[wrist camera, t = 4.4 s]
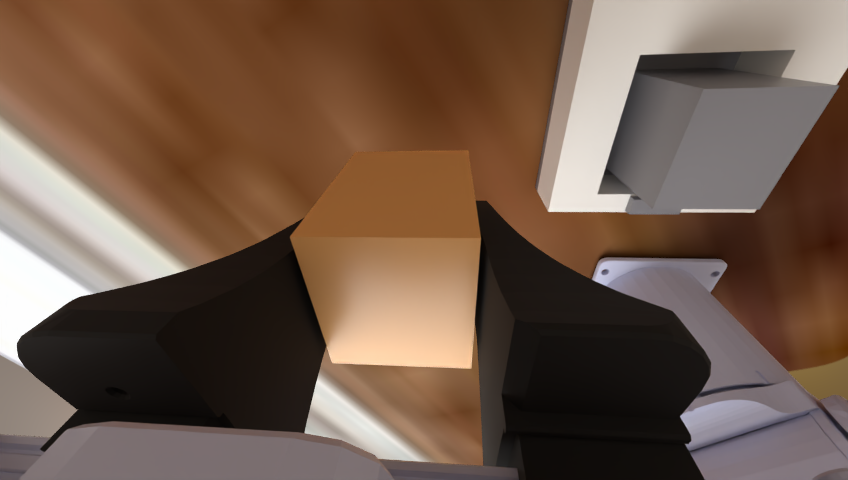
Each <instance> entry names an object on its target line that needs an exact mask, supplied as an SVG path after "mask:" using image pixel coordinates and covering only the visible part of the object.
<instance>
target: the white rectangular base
mask: <svg viewBox="0 0 848 480" xmlns="http://www.w3.org/2000/svg"><path fill="white" fill-rule="evenodd" d="M847 68H848V0H569V4H568V10H567V15H566V21H565V26H564V32H563V37H562V43H561V48H560V54H559V59H558V65H557V71H556V76H555V82H554V87H553V93H552V98H551V104H550V109H549V115H548V120H547V126H546V131H545V137H544V142H543V148H542V153H541V159H540V165H539V170H538V176H537V181H536V187H535V188H536V190H537V192H538V193H539V195H540V197H541V199H542V201H543V203H544V205H545V207H546V208H547V210H548V212H627V213H628V214H680V212H745V213H755V211H756V209H760V208H761V206H762V205H763V203H764V202H765V200H766V199H767V197H768V195H769V194H770V192H771V191H772V189H773V188H774V186H775V185H776V183H777V182H778V180H779V178H780V177H781V175H782V174H783V172H784V171H785V169H786V168H787V166H788V165H789V163H790V161H791V160H792V158H793V157H794V155H795V154H796V152H797V151H798V149H799V148H800V146H801V145H802V143H803V141H804V140H805V138H806V137H807V135H808V134H809V132H810V131H811V129H812V128H813V126H814V124H815V123H816V121H817V120H818V118H819V117H820V115H821V114H822V112H823V111H824V109H825V107H826V106H827V104H828V103H829V101H830V100H831V98H832V97H833V95H834V94H835V92H836V90H837V89H838V87H839V86H838V85H837V83H838V82H839V80H840V78H841V77H842V75H843V74H844V72H845V71H846V69H847Z"/></svg>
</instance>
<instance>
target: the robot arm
mask: <svg viewBox="0 0 848 480" xmlns="http://www.w3.org/2000/svg"><path fill="white" fill-rule="evenodd" d="M476 207H477V214H478V221H479V228H480V235H481V245H480V258H479V271H478V284H477V297H476V310H475V326H476V334H477V346H478V363H479V381H480V400H481V421H482V444H483V466H477V465H461V464H446V463H431V462H416V461H401V460H385V459H378V458H377V457H376V456H375V455H373V454H371V453H369V452H366V451H364V450H362V449H360V448H358V447H355V446H353V445H351V444H349V443H347V442H344V441H342V440H338V439H332V438H327V437H321V436H316V435H310V434H305V433H304V432H305V427H306V422H307V418H308V414H309V410H310V405H311V401H312V397H313V393H314V389H315V385H316V381H317V377H318V373H319V370H320V366H321V362H322V358H323V355H324V352H325V348H326V343H325V340H324V337H323V334H322V331H321V328H320V325H319V322H318V319H317V316H316V313H315V310H314V307H313V304H312V301H311V298H310V295H309V292H308V289H307V286H306V284H305V281H304V278H303V275H302V272H301V269H300V266H299V263H298V260H297V257H296V254H295V251H294V248H293V245H292V242H291V239H290V236H291V235H292V233H293V232H294V231H295V230H296V228H297V227H298V226H299V224H300V223H301V222H302V220H303V219H304V218H303V219H301V220H300V221H298V222H296V223H295V224H293V225H291V226H289V227H287V228H286V229H284V230H282V231H280V232H278V233H276V234H274V235H273V236H271V237H269V238H267V239H265V240H263V241H261V242H259V243H257V244H255V245H252V246H250V247H248V248H246V249H243V250H241V251H239V252H236V253H234V254H231V255H229V256H226V257H223V258H221V259H218V260H215V261H212V262H210V263H207V264H204V265H201V266H199V267H196V268H193V269H189V270H186V271H183V272H180V273H176V274H173V275H170V276H166V277H162V278H159V279H155V280H151V281H148V282H144V283H140V284H136V285H131V286H127V287H122V288H118V289H114V290H109V291H105V292H100V293H96V294H91V295H86V296H81V297H78V298H76V299H74V300H72V301H71V302H69V303H67V304H66V305H64V306H63V307H62V308H60V309H59V310H57V311H56V312H55V313H53V314H52V315H50V316H49V317H48V318H46V319H45V320H43V321H42V322H41V323H39V324H38V325H37V326H35V327H34V328H32V329H31V330H30V331H28V332H27V333H25V334H24V335H23V336H21V338H20V340H19V341H18V343H17V352H18V357H19V359H20V360H21V362H22V363H23V365H24V366H25V368H26V369H28V370H29V371H30V372H31V373H32V374H33V375H34V376H35V377H36V378H38V379H39V380H40V381H41V382H43V383H44V384H45V385H47V386H48V387H49V388H50V389H52V390H53V391H54V392H55V393H57V394H58V395H59V396H60V397H62V398H63V399H64V400H66V401H67V402H69V403H70V404H71V405H72V406H73V407H75V408H76V409H78V410H77V411H76V412H75V413H74V414H73V415H72V416H71V418H70V419H69V420H68V421H67V422H66V423H65V424H64V425H63V426H62V427H61V428H60V429H59V430H58V431H57V432H56V433H55V434H54V435H53V436H52V437H35V436H20V435H4V434H0V480H848V401H847V400H846V399H844V398H843V397H841V396H839V395H832V396H830V397H827V398H824V399H821V400H818V399H817V398H816V397H814V396H813V395H812V394H810V393H809V392H807V391H806V390H805V389H804V388H803V387H802V386H801V385H800V384H799V383H798V382H797V381H796V380H795V379H794V378H793V377H792V375H790V374H789V372H788V371H787V370H786V369H785V368H784V367H783V366H782V365H781V364H780V363H779V362H778V361H777V360H776V359H775V358H774V357H773V356H772V355H771V354H770V353H769V352H768V351H767V350H766V349H765V348H764V347H763V346H762V345H761V344H760V343H759V342H758V341H757V340H756V339H755V338H754V337H753V336H752V335H751V334H750V333H749V332H748V331H747V330H746V329H745V328H744V327H743V326H742V325H741V324H740V323H739V322H738V321H737V320H736V319H735V318H734V317H733V315H732V314H731V313H730V312H729V311H728V310H727V309H726V308H725V307H724V306H723V305H722V304H721V303H720V302H719V301H718V300H717V299H716V298H715V297H714V296H713V295H712V294H711V293H710V292H711V291H712V289H713V288H714V286H715V285H716V283H717V282H718V280H719V279H720V277H721V276H722V274H723V273H724V271H725V270H726V268H727V264H726V263H725V262H724V261H723V260H721V259H679V258H611V257H607V258H603V259H601V260H600V261H599V262H598V264H597V267H596V269H595V272H594V275H593V278H592V279H589V278H587V277H585V276H583V275H581V274H579V273H577V272H576V271H574V270H572V269H570V268H568V267H566V266H564V265H563V264H561V263H559V262H558V261H556V260H554V259H553V258H551V257H550V256H548V255H547V254H545V253H544V252H542V251H541V250H539V249H538V248H536V247H535V246H534V245H532V244H531V243H530V242H528V241H527V240H526V239H525V238H523V237H522V236H521V235H520V234H519V233H517V232H516V231H515V230H514V229H513V228H512V227H511V226H510V225H509V224H508V223H507V222H506V221H505V220H504V219H503V218H502V217H501V216H500V215H499V214H498V213H497V212H496V211H495V210H494V208H493V207H492V206H491V205H490V204H489V203H488V202H487V201H476ZM604 269H606V270H605V271H603V270H604Z"/></svg>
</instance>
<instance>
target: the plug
mask: <svg viewBox="0 0 848 480" xmlns="http://www.w3.org/2000/svg"><path fill="white" fill-rule="evenodd" d="M290 239H291V242H292V245H293V248H294V251H295V254H296V257H297V260H298V263H299V266H300V269H301V272H302V275H303V278H304V281H305V284H306V286H307V289H308V292H309V295H310V298H311V301H312V304H313V307H314V310H315V313H316V316H317V319H318V322H319V325H320V328H321V331H322V334H323V337H324V340H325V343H326V346H327V349H328V352H329V355H330V358H331V360H332V363H345V364H370V365H395V366H420V367H445V368H470V369H471V363H472V350H473V337H474V324H475V310H476V297H477V284H478V271H479V258H480V245H481V235H480V228H479V221H478V214H477V207H476V200H475V193H474V187H473V180H472V173H471V166H470V159H469V152H468V150H446V151H385V152H355V153H354V155H353V156H352V157H351V158H350V160H349V161H348V162H347V164H346V165H345V166H344V167H343V169H342V170H341V171H340V173H339V174H338V175H337V177H336V178H335V179H334V180H333V182H332V183H331V184H330V186H329V187H328V188H327V189H326V191H325V192H324V193H323V195H322V196H321V197H320V198H319V200H318V201H317V202H316V204H315V205H314V206H313V208H312V209H311V210H310V211H309V213H308V214H307V215H306V217H305V218H304V219H303V220H302V222H301V223H300V224H299V226H298V227H297V228H296V230H295V231H294V232H293V233H292V235H291V236H290Z"/></svg>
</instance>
